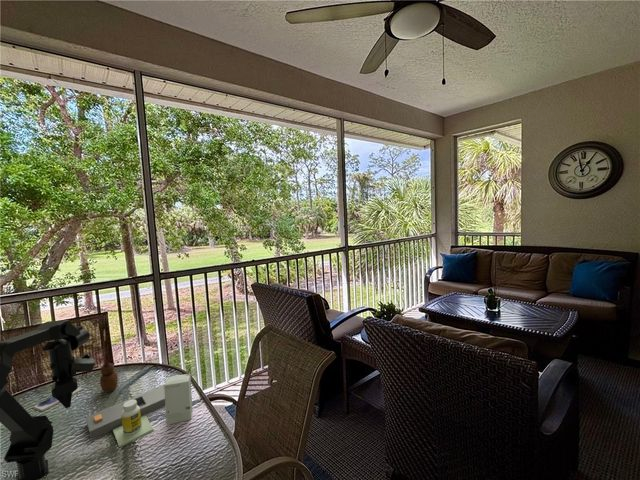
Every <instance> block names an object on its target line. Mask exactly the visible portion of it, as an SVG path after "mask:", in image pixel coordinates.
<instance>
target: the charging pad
mask: <svg viewBox="0 0 640 480" xmlns="http://www.w3.org/2000/svg"><path fill="white" fill-rule="evenodd" d="M146 415H147V414H146ZM146 415H144V416H142V417H141V423H142V426H141V428H140V430H139V431H137V432H136V433H134V434H131V435H125V434H124V433H123V425H122V426H120V427H118V428H116V429H113V430H112V432H113V435H114V438H115V440H117V441H116V443H117V446H118V448H119V447H120V448H121V447H124V446H125V445H127V444H129V443H132V442H133V441H135V440H137V439H139V438H142V437H143V436H146V435H148V434H150V433H151V432H153V431H154V428H153V426H152V424H151V422H150V421H149V419H148V417H147V416H146Z"/></svg>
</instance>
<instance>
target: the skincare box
mask: <svg viewBox="0 0 640 480" xmlns="http://www.w3.org/2000/svg"><path fill="white" fill-rule="evenodd" d="M163 385H164V392H165V406H164V407H165V418H166V419H165V420H166V422H165V423H166V425H167V426H169V425H172V424H177V423H181V422H186V421H187V422H188V421H191V420H192V415H193V397H192V394H193V393H192V377H191V373H185V374H177V375H173V376H168V377H167V376H166V378H165V382H164V384H163Z"/></svg>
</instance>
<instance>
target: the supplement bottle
mask: <svg viewBox="0 0 640 480" xmlns="http://www.w3.org/2000/svg"><path fill="white" fill-rule="evenodd" d="M121 417H122V425H123V433H124V434H125V435H131V434H134V433H136V432H137V431H139V430H140V428H141V426H142V423H141V414H140V405H137V401H136V400H134V399H133V400H129V401H127V402H125V403H124V404H123V411H122V413H121Z"/></svg>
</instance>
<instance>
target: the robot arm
mask: <svg viewBox="0 0 640 480" xmlns="http://www.w3.org/2000/svg"><path fill="white" fill-rule="evenodd" d="M90 337H91V336H90V333H89V332H88V330H86V329H84V327H83V326H82V325H80V326H79V325H77V326H74V325H73V324H72V323H71V321H70V320H69V319H66V320H65V319H64V320H50V321H48V320H47V321H45V322H43V323H42V324H39V325H38V327H36V329H33V330H32V331H28V332H25V333H21V334H20V335H16V336H12V337H10V338H7V339H4V340H1V341H0V423H1V425H2V426H4V427H5V428H6V429H7V430H8V431H9V433H10V436H9V438H8V439H9V441H10V445H9V447H8V449H7V451H6V453H5V456H4V457H3V460H4V461H5V462H6V464H8V463H9V464H10V463H16V467H17V480H38V479H40V478H43V477H44V476H46V475H48V474H49V472H50V471H49V460H48V459H46V457H45V454H47V453H48V452H49V450H50V449H52V445H53V437H54V426H53V421H50V420H49V418H48V416H46V415H31V414H30V413H29V412H28V411H27V409H25V407H24V406H22V404H21V403H20V402H19V401H18V400H17V399H16V398H15V397H14V396H13V395H12V394H11V393H10V391H8V390H7V389H8V384H9V380H8V375H9V374H10V372H11V371H12V369H13V358H14V356H15V355H16V354H17V353H20V352H22V351H25V350H27V349H30V348H33V347H35V346H37V345H38V346H39V344H42V343H45V342H46V344H45V345H44V346H43V348H42V352H47V351H48V357H49V368H50V370H51V381H52V382H54V383H53V384H52V385H51V397H54V398H56V399H57V400H58V401H59V402H60V404H61V405H62V406H63V407H64V408H66V409H69V408H71V406H72V398H73V396H72V393H73V392H74V391H75V390H77V388H78V387H79V386H78V379H77V378H76V377H74V376H76V375H77V373H93V370H94V368H95V364H96V361H95V358H93V357H90V354H89V353H83V354H82V355H81V357H78V358H75V356H74V355H73V351H75V350H77V349H79V348H80V347H82V346H83V345H84V344H86V343H88V342H89V340H90Z"/></svg>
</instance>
